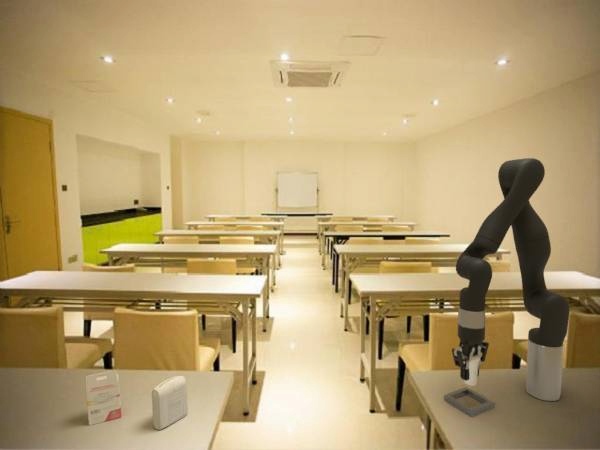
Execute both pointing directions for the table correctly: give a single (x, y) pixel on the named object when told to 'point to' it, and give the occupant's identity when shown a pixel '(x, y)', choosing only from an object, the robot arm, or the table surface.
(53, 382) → the table surface
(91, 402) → the ink cartridge box
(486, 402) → the grey square frame
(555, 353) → the robot arm
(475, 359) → the milkshake
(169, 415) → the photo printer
